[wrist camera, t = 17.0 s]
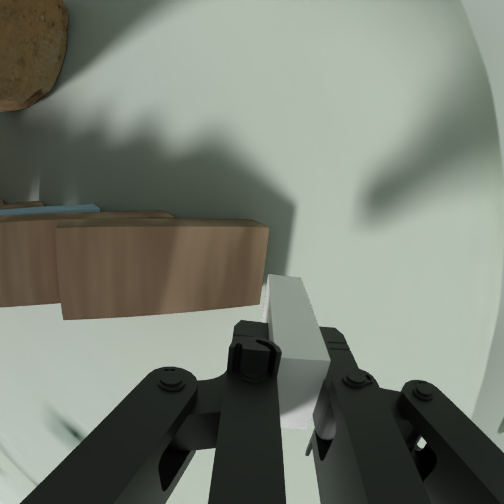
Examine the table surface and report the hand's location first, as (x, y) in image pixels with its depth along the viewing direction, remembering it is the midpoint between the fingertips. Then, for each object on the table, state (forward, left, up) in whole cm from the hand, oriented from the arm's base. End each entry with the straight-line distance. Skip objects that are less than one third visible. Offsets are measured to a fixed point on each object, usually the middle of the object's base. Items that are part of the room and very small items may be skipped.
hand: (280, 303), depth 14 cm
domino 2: (-7, 0, -6) cm, 9 cm away
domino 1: (-1, 0, -6) cm, 6 cm away
